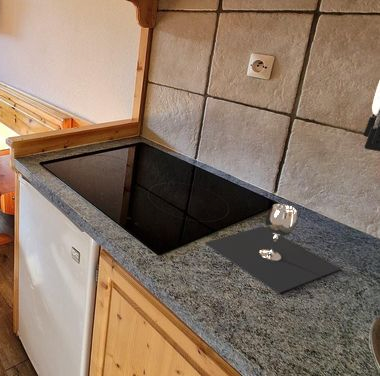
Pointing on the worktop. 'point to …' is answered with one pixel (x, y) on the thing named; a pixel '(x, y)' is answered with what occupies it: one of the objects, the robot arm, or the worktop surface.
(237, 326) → the worktop surface
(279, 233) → the wineglass
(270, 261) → the placemat
